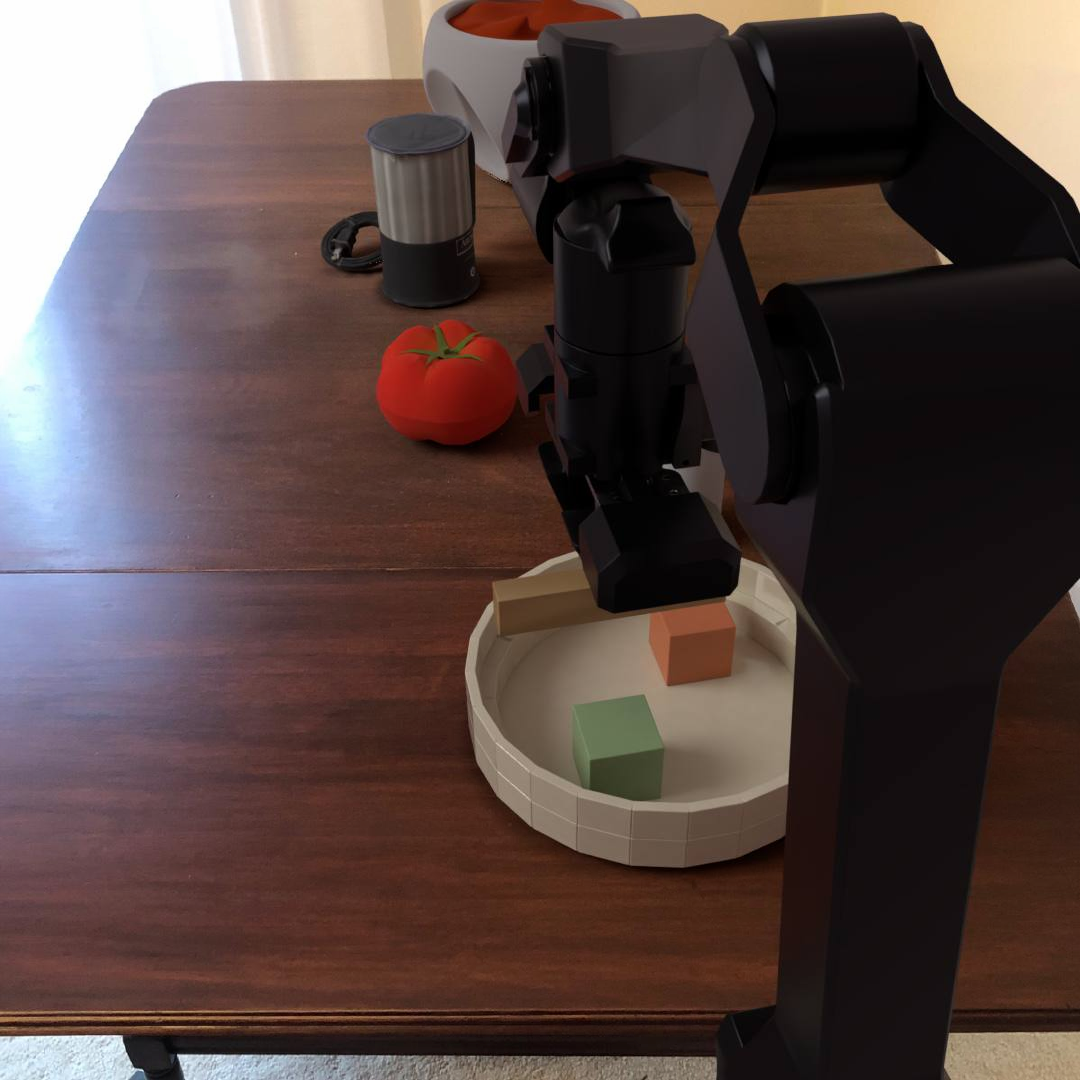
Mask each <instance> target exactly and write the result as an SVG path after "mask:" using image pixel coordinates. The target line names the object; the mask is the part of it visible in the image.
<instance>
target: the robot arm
mask: <svg viewBox="0 0 1080 1080" xmlns="http://www.w3.org/2000/svg"><path fill="white" fill-rule="evenodd" d="M537 49H538V54H539V57H533V58H526V59H525V60H524V63H523V67H522V74H521V81H520V84H519V85H518V86H517V88H516V89H515V90H514V91H513V93H512V96H511V100H510V104H509V108H508V112H507V115H506V119H505V123H504V127H503V131H502V134H501V138H502V145H503V152H504V159H505V164H507V163H513V165H512V167H511V181H512V184H511V186H512V191H513V194H514V196H515V198H516V200H517V203H518V205H519V206H520V209H521V210H522V211H521V212H522V213H523V215H524V217H525V219H526V221H527V223H528V225H529V228H530V230H531V232H532V235H533V236H534V239H535V240H536V243H537V245H538V247H539V249H540V251H541V254H542V255H543V257H544V259H545V260H546V261H547V262H548V263H549V264H551V265H553V324H545V325H543V338H544V339H543V342H536V343H531V344H530V345H529V346H528V347H527V348H526V349H525V350H524V351H523V353H521V354H520V355H519V357H518V358H517V359H516V360H515V361H514V368H515V372H516V393H517V398H518V400H519V403H520V406H521V408H522V411H523V413H524V414H523V415H524V416H525V418H530V417H537V416H538V415H539V413H540V411H541V406H540V405H541V404H540V402H541V400H540V399H541V398H540V397H541V396H542V395H553V394H554V401H549V402H545V403H544V407H545V408H544V409H545V411H544V414H545V415H544V417H545V424H546V426H547V428H548V431H549V434H550V436H551V438H552V440H548V441H544V442H542V443H540V444H538V446H537V449H536V450H537V451H536V452H537V454H538V457H539V460H540V463H541V465H542V468H543V471H544V473H545V476H546V479H547V481H548V483H549V486H550V487H551V489H552V492H553V493H554V496H555V498H556V500H557V502H558V504H559V507H560V508H561V510H562V511H561V512H560V516H561V519H562V521H563V523H564V527H565V529H566V532H567V534H568V537H569V540H570V543H571V545H572V547H573V549H574V551H576V552H577V553H578V555H579V557H580V559H581V561H582V566H583V570H584V573H585V575H586V578H587V581H588V583H589V586H590V589H591V591H592V594H593V597H594V599H595V602H596V605H597V607H598V608H601V609H603V610H606V611H608V612H610V613H613V614H616V613H623V612H629V611H635V610H642V609H648V608H655V607H661V606H668V605H674V604H681V603H687V602H693V601H700V600H706V599H713V598H719V597H726V596H730V595H731V594H732V593H733V591H734V590H735V589H736V588H737V586H738V582H739V573H740V564H741V557H742V555H743V554H742V553H743V552H742V550H741V547H740V546H739V544H738V542H737V540H736V539H735V536H734V535H733V533H732V532H731V530H730V527H729V526H728V524H727V523H726V520H725V518H724V517H723V514H722V512H721V513H720V511H719V509H718V508H717V506H716V505H715V504H714V503H712V502H711V501H710V500H708V499H707V498H706V497H704V496H703V495H702V494H700V493H699V492H691V493H690V491H689V490H688V488H687V486H686V484H685V482H684V480H683V478H682V476H681V475H680V474H679V473H678V472H677V471H675V470H672V469H666V468H663V465H666V464H672V466H673V468H674V469H682V468H689V467H697V466H700V462H701V450H702V449H704V450H707V451H710V452H713V453H719V454H720V457H721V461H722V464H723V467H724V469H725V476H726V477H727V480H728V483H729V486H730V488H731V489H732V491H733V501H734V503H733V506H734V512H735V513H734V514H735V517H736V519H737V521H738V523H739V524H740V526H741V528H743V530H744V532H745V534H746V535H747V536H748V538H749V539H750V542H751V543H752V544H753V546H754V547H755V548H756V551H757V552H758V553H759V554H760V556H761V558H762V559H763V561H764V562H765V564H766V565H767V568H768V569H770V570H771V571H772V573H773V574H774V576H775V577H776V579H777V580H778V582H779V583H780V585H781V586H782V588H783V589H784V591H785V593H786V594H787V596H788V597H789V599H790V600H791V602H792V603H793V605H794V607H795V610H796V646H795V665H794V683H793V702H792V720H791V739H790V757H789V775H788V794H787V812H786V831H785V836H784V850H783V851H784V853H783V870H782V888H781V905H780V906H781V908H780V922H779V923H780V925H779V940H778V941H779V944H778V946H779V947H778V959H777V961H778V962H777V966H778V967H777V977H776V978H777V981H776V996H775V997H776V998H775V1004H771V1005H765V1006H759V1007H755V1008H750V1009H746V1010H740V1011H736V1012H730V1013H727V1014H726V1015H724V1017H723V1019H722V1021H721V1024H720V1025H719V1027H718V1029H717V1030H716V1033H715V1037H714V1039H715V1041H714V1042H715V1058H716V1062H715V1063H716V1077H715V1080H952V1078H951V1076H950V1075H949V1073H948V1072H947V1070H946V1068H945V1063H946V1056H947V1051H948V1050H947V1049H948V1042H949V1035H950V1031H951V1030H950V1029H951V1023H952V1017H953V1010H954V1003H955V995H956V991H957V985H958V984H957V983H958V976H959V970H960V963H961V958H962V957H961V956H962V949H963V942H964V937H965V931H966V930H965V929H966V923H967V916H968V909H969V903H970V897H971V889H972V884H973V877H974V871H975V864H976V856H977V851H978V844H979V836H980V830H981V823H982V816H983V811H984V810H983V809H984V804H985V797H986V790H987V783H988V777H989V776H988V775H989V771H990V763H991V756H992V751H993V750H992V749H993V743H994V738H995V730H996V724H997V718H998V717H997V716H998V711H999V703H1000V697H1001V691H1002V684H1003V677H1004V673H1005V670H1006V669H1005V668H1006V666H1007V662H1008V660H1009V657H1010V656H1011V655H1012V654H1013V653H1014V652H1015V651H1016V650H1017V649H1018V648H1019V647H1020V646H1021V644H1023V642H1024V641H1025V640H1026V639H1027V638H1028V637H1029V635H1031V633H1032V632H1033V631H1034V630H1035V629H1036V628H1037V627H1038V626H1039V624H1040V623H1042V621H1043V620H1044V619H1045V618H1046V617H1047V615H1049V613H1050V612H1051V611H1052V610H1054V608H1055V607H1056V606H1057V604H1059V603H1060V601H1061V600H1062V599H1063V598H1064V597H1065V596H1066V595H1067V594H1068V592H1069V591H1070V590H1071V589H1072V588H1074V586H1075V585H1076V584H1077V582H1079V580H1080V210H1079V208H1078V205H1077V202H1076V200H1075V198H1074V197H1073V196H1072V195H1071V194H1070V192H1069V191H1068V190H1067V188H1066V187H1065V186H1064V185H1063V184H1062V183H1061V182H1060V181H1059V180H1057V179H1056V178H1055V177H1054V176H1052V175H1051V174H1050V173H1049V172H1047V171H1046V170H1045V168H1042V167H1041V166H1040V165H1039V164H1038V163H1037V162H1035V160H1033V159H1031V157H1029V156H1028V155H1027V154H1026V153H1025V152H1024V151H1022V150H1021V149H1020V148H1018V147H1017V146H1016V145H1014V144H1013V142H1011V141H1010V140H1009V139H1007V137H1005V136H1004V135H1002V133H1000V132H999V131H998V130H997V129H996V128H994V127H993V126H992V125H990V124H989V123H988V122H987V121H986V120H984V119H983V118H982V117H981V116H980V115H978V114H977V113H976V112H975V111H974V110H972V109H971V108H970V106H969V107H968V105H967V104H965V103H964V102H962V100H960V99H959V97H958V96H957V94H956V92H955V89H954V87H953V85H952V83H951V80H950V77H949V75H948V72H947V70H946V69H945V66H944V64H943V61H942V60H941V57H940V54H939V51H938V49H937V47H936V45H935V42H934V41H933V39H932V37H931V36H930V35H929V33H928V32H927V30H926V28H925V27H924V26H923V25H921V24H918V23H917V22H916V23H915V22H913V21H900V20H899V19H898V17H897V15H893V14H891V13H887V12H884V11H882V12H869V13H868V12H867V13H855V14H843V15H842V14H841V15H840V14H839V15H829V16H817V17H815V16H814V17H803V18H791V19H789V18H787V19H776V20H775V19H774V20H764V21H751V22H750V21H749V22H745V23H742V24H740V25H739V26H738V28H736V30H735V31H734V32H733V33H732V34H730V30H729V29H728V28H727V26H725V24H723V23H721V22H719V21H717V20H714V19H712V18H710V17H707V16H705V15H703V14H701V13H684V14H683V13H682V14H671V15H655V16H645V17H644V16H643V17H642V16H641V18H628V19H615V20H602V21H588V22H575V23H562V24H548V25H546V27H545V28H544V29H543V31H542V32H541V33H540V35H539V38H538V41H537ZM540 56H546V57H540ZM675 172H682V173H685V174H691V175H695V176H699V177H705V178H709V181H710V185H711V187H712V190H713V194H714V198H715V201H716V204H717V208H718V211H719V212H718V216H717V218H716V221H715V224H714V227H713V230H712V234H711V235H710V238H709V239H710V240H709V241H708V242H709V243H708V246H707V249H706V251H705V254H704V259H703V262H702V265H701V267H700V271H699V275H698V276H697V280H696V283H695V286H694V288H693V289H694V290H693V293H692V296H691V299H690V302H689V305H688V296H689V295H688V293H689V292H688V291H689V279H690V277H689V276H690V267H691V266H693V265H695V264H696V262H697V259H698V258H697V257H698V254H697V249H696V243H695V240H694V237H693V222H692V219H691V217H690V216H689V215H688V213H687V211H686V210H684V208H683V206H682V205H681V204H680V202H678V201H677V200H676V199H675V197H673V196H672V195H671V194H670V193H668V192H667V191H666V190H663V189H662V188H660V187H658V186H655V185H654V184H653V181H652V179H651V175H655V174H664V173H675ZM868 185H869V186H870V185H879V188H880V190H881V193H882V196H883V198H884V200H885V202H886V203H887V205H888V206H889V207H890V209H891V210H892V211H893V213H894V214H895V215H897V216H898V217H899V218H900V219H901V220H902V221H904V222H905V223H906V224H907V225H908V226H909V227H910V228H912V229H913V230H914V231H915V232H917V234H918V235H920V236H921V237H922V238H923V239H924V240H926V242H927V243H929V244H930V245H931V246H932V247H933V248H935V250H937V251H938V252H939V253H940V254H942V255H943V256H944V258H946V259H947V260H948V261H949V262H950V263H947V264H945V263H944V264H937V265H928V266H927V265H926V266H918V267H909V268H901V269H899V268H898V269H892V270H891V269H890V270H881V271H874V272H873V271H872V272H863V273H856V274H855V273H854V274H846V275H844V274H843V275H836V276H827V277H819V278H808V279H800V280H799V279H798V280H791V281H782V282H781V283H780V284H778V285H776V286H775V287H773V288H771V289H770V290H768V291H767V293H766V296H765V297H764V299H763V301H762V303H761V301H760V298H759V294H758V291H757V289H756V285H755V282H754V279H753V275H752V272H751V269H750V265H749V262H748V259H747V256H746V252H745V250H744V246H743V242H742V241H741V240H742V239H741V237H740V233H739V232H740V228H741V226H742V222H743V219H744V216H745V214H746V211H747V208H748V205H749V201H750V199H751V197H756V196H757V197H758V196H768V195H776V194H777V195H778V194H788V193H798V192H808V191H818V190H828V189H829V190H830V189H837V188H838V189H839V188H849V187H859V186H868ZM686 338H687V341H688V343H686V341H685V339H686Z"/></svg>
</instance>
